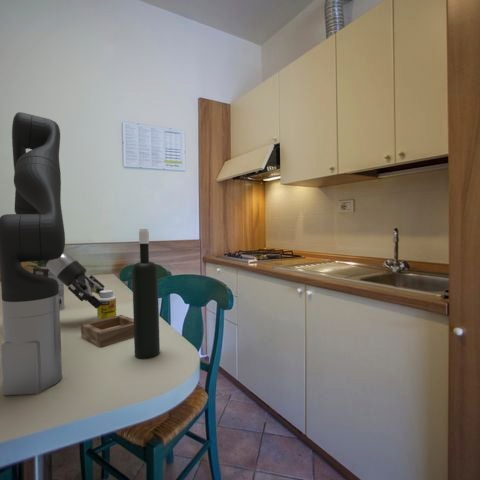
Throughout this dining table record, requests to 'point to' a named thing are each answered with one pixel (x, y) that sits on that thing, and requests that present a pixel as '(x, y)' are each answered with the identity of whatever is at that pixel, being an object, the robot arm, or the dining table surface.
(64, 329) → the dining table surface
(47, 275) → the coffee box
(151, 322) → the wine bottle
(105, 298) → the supplement bottle
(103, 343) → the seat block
